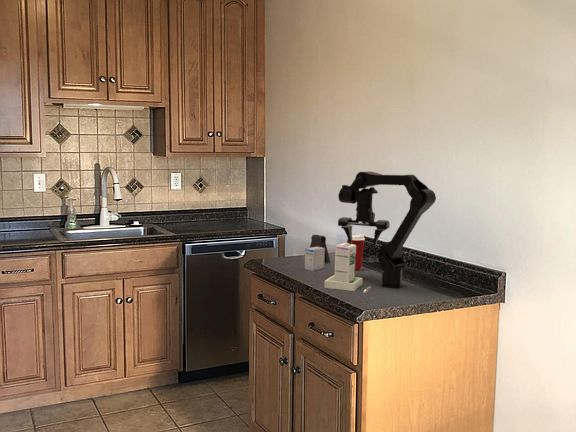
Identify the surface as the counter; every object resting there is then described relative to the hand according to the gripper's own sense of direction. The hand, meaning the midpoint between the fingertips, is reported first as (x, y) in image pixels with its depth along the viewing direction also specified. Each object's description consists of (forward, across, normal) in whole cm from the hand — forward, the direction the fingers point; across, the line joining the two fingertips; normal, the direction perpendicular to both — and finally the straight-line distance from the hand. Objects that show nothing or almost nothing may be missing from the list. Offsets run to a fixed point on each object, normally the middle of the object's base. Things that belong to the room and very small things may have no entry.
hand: (362, 245), depth 244 cm
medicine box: (+14, +23, -12) cm, 29 cm away
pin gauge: (+12, -7, +16) cm, 22 cm away
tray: (+13, +3, +13) cm, 19 cm away
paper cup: (+14, +8, -19) cm, 24 cm away
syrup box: (+12, +3, +13) cm, 18 cm away
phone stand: (+14, +26, -25) cm, 38 cm away
